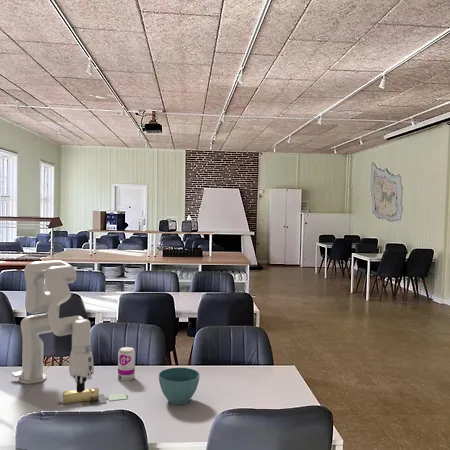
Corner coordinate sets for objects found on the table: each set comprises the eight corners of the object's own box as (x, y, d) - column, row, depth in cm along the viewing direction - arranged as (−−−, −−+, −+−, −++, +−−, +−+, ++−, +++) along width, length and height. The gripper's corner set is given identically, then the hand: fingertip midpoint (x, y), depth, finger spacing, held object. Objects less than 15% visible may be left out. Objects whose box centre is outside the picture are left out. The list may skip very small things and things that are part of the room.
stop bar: (98, 396, 222) (98, 387, 222) (99, 400, 218) (99, 391, 218) (62, 399, 217) (62, 390, 217) (63, 403, 213) (63, 394, 213)
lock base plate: (82, 405, 213) (82, 405, 213) (81, 396, 222) (81, 396, 222) (106, 403, 216) (106, 402, 216) (103, 394, 226) (103, 393, 226)
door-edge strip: (58, 404, 213) (58, 404, 213) (57, 402, 215) (57, 402, 215) (127, 397, 224) (127, 396, 224) (127, 395, 225) (127, 395, 225)
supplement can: (130, 382, 242) (131, 352, 242) (115, 380, 244) (115, 350, 243) (137, 376, 250) (137, 347, 250) (121, 374, 252) (122, 345, 251)
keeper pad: (109, 401, 219) (109, 400, 219) (107, 395, 224) (107, 395, 224) (127, 399, 221) (127, 398, 221) (125, 394, 227) (125, 393, 227)
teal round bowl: (182, 413, 209) (183, 384, 208) (149, 402, 219) (150, 375, 218) (206, 399, 224) (207, 372, 224) (174, 390, 234) (175, 364, 233)
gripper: (100, 348, 210) (100, 391, 211) (73, 344, 216) (73, 385, 217) (89, 353, 203) (88, 397, 204) (61, 348, 210) (60, 391, 210)
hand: (80, 391), depth 210 cm, fingers closed
